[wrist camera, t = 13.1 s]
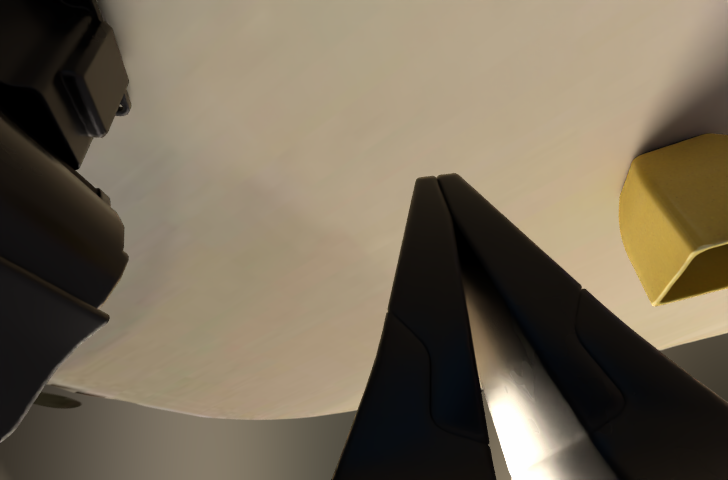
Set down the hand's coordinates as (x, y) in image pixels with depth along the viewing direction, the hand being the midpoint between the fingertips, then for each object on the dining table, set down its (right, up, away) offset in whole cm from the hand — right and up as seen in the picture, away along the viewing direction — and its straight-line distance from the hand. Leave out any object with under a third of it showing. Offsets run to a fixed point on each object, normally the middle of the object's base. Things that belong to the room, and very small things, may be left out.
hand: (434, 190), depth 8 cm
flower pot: (+21, +5, +21) cm, 30 cm away
